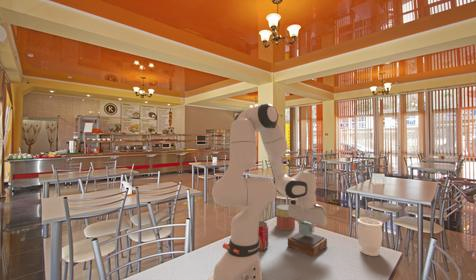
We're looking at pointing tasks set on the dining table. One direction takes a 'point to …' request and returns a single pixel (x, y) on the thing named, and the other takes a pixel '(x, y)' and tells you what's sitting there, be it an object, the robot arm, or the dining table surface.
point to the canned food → (284, 218)
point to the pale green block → (305, 228)
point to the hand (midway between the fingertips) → (306, 229)
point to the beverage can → (263, 235)
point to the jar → (369, 236)
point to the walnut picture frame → (307, 243)
